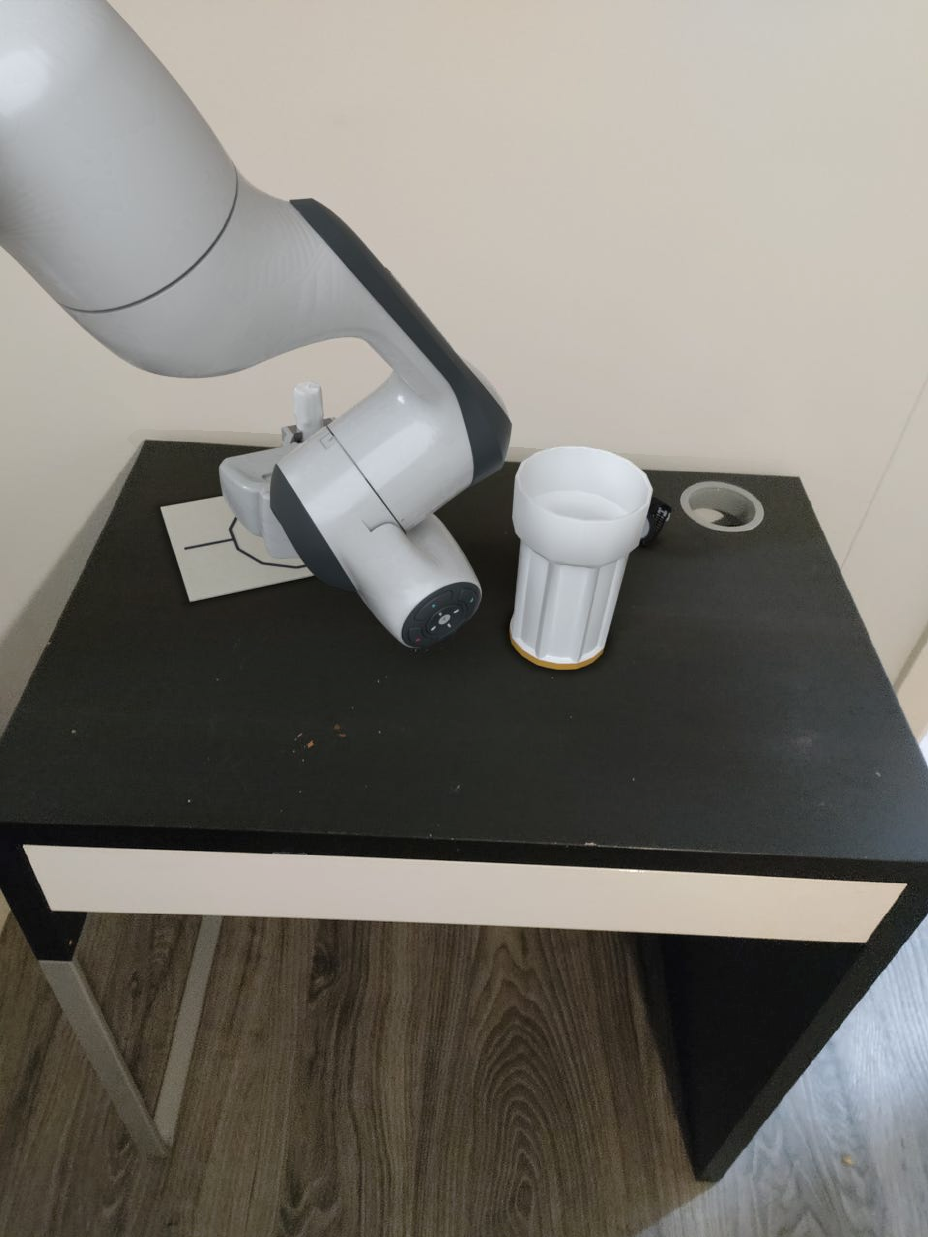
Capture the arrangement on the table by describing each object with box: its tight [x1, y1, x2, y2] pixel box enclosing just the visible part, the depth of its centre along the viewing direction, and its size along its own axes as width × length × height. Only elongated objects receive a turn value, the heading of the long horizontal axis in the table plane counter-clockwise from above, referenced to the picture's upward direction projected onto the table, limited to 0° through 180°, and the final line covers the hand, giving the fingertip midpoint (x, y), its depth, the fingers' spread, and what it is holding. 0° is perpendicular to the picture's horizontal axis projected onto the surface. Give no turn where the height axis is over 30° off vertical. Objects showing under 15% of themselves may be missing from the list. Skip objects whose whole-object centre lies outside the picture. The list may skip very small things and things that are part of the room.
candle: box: [292, 380, 325, 442], centre depth 88 cm, size 5×5×12 cm
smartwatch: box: [638, 496, 673, 547], centre depth 98 cm, size 4×5×5 cm
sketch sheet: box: [160, 495, 316, 603], centre depth 97 cm, size 20×16×1 cm
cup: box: [509, 445, 654, 671], centre depth 82 cm, size 11×11×17 cm
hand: (307, 428), depth 89 cm, fingers closed on candle, 2 cm apart
